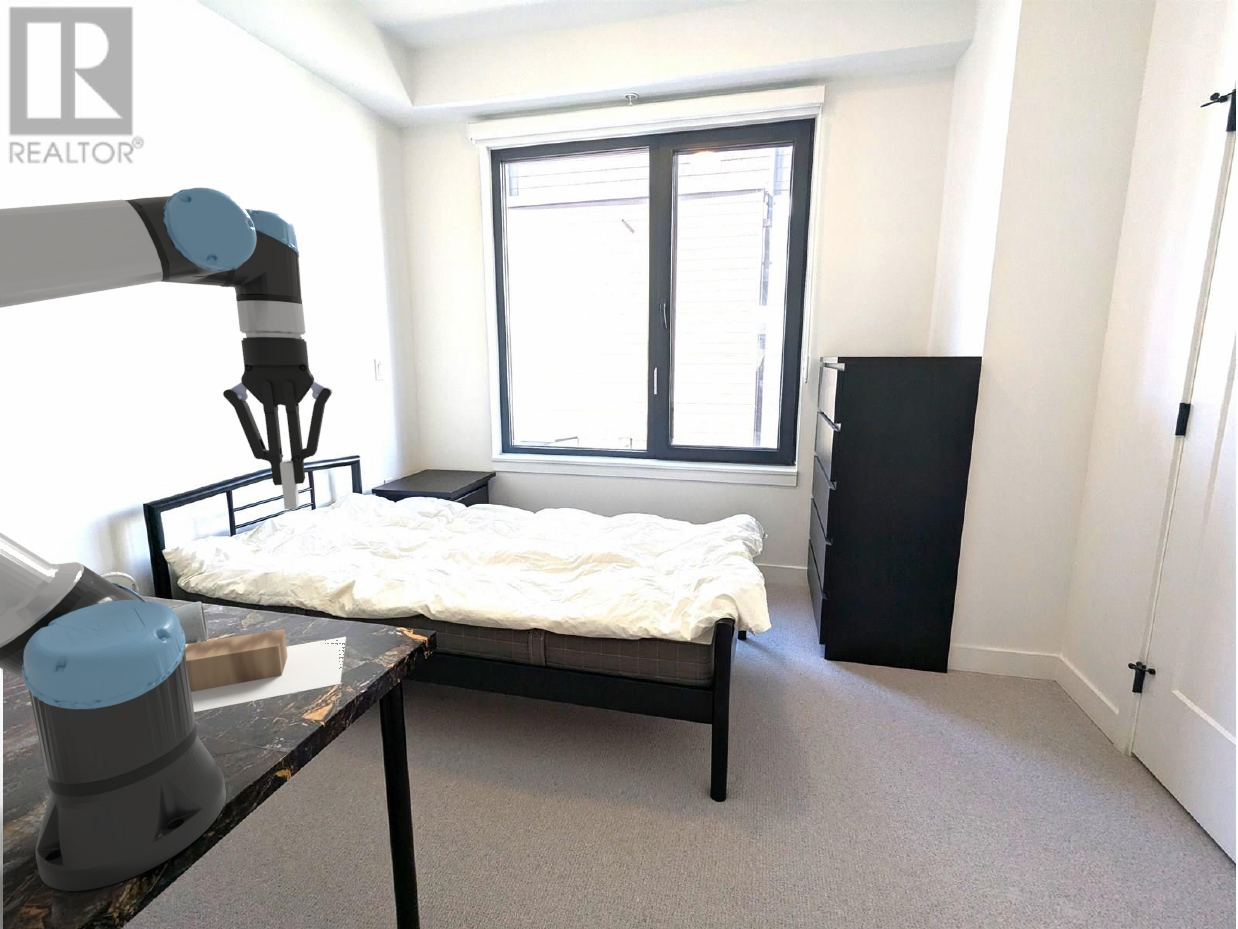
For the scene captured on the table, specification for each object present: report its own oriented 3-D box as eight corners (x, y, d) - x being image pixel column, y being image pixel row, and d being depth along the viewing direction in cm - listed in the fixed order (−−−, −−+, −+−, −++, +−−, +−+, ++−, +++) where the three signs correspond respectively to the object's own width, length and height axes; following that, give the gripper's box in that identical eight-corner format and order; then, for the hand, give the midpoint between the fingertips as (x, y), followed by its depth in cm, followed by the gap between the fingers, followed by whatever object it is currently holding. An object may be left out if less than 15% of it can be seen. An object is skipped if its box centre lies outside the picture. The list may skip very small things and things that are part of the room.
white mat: (340, 686, 86) (340, 683, 86) (163, 720, 77) (162, 718, 77) (346, 638, 100) (346, 636, 100) (197, 663, 92) (196, 661, 92)
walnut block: (278, 645, 87) (167, 664, 82) (281, 675, 88) (172, 695, 83) (284, 629, 92) (180, 645, 87) (287, 657, 93) (184, 674, 88)
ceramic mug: (149, 648, 97) (143, 606, 95) (208, 634, 102) (202, 594, 100) (147, 676, 89) (139, 631, 87) (210, 660, 93) (204, 617, 92)
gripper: (330, 338, 82) (344, 496, 86) (223, 336, 77) (244, 504, 81) (326, 336, 75) (341, 508, 79) (208, 334, 70) (231, 518, 74)
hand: (292, 506), depth 80 cm, fingers closed
